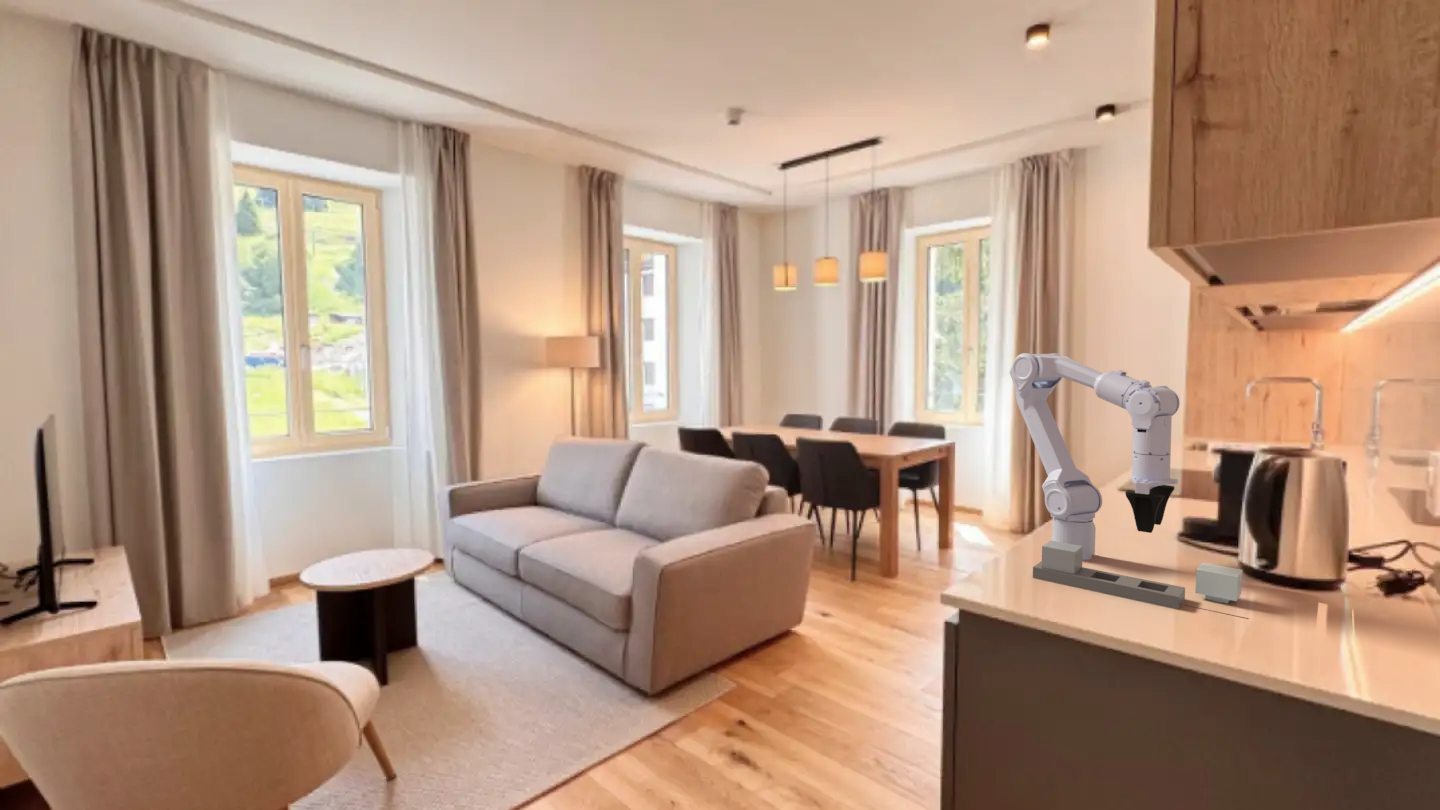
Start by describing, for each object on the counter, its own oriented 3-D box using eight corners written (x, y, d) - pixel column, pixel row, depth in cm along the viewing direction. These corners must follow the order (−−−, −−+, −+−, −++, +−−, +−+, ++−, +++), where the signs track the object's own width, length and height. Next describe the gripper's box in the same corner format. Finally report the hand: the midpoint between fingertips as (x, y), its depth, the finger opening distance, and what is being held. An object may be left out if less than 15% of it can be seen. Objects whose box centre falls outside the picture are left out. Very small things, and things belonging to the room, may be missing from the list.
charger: (1200, 596, 110) (1202, 562, 110) (1240, 605, 106) (1242, 569, 106) (1194, 604, 107) (1196, 569, 106) (1236, 613, 103) (1237, 577, 102)
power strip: (1043, 574, 122) (1044, 538, 121) (1250, 619, 100) (1252, 575, 100) (1032, 582, 117) (1033, 545, 117) (1246, 630, 96) (1248, 585, 96)
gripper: (1170, 459, 107) (1168, 539, 108) (1185, 451, 118) (1183, 523, 118) (1121, 456, 112) (1120, 532, 113) (1140, 448, 122) (1138, 518, 123)
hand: (1149, 527), depth 116 cm, fingers open, 7 cm apart
